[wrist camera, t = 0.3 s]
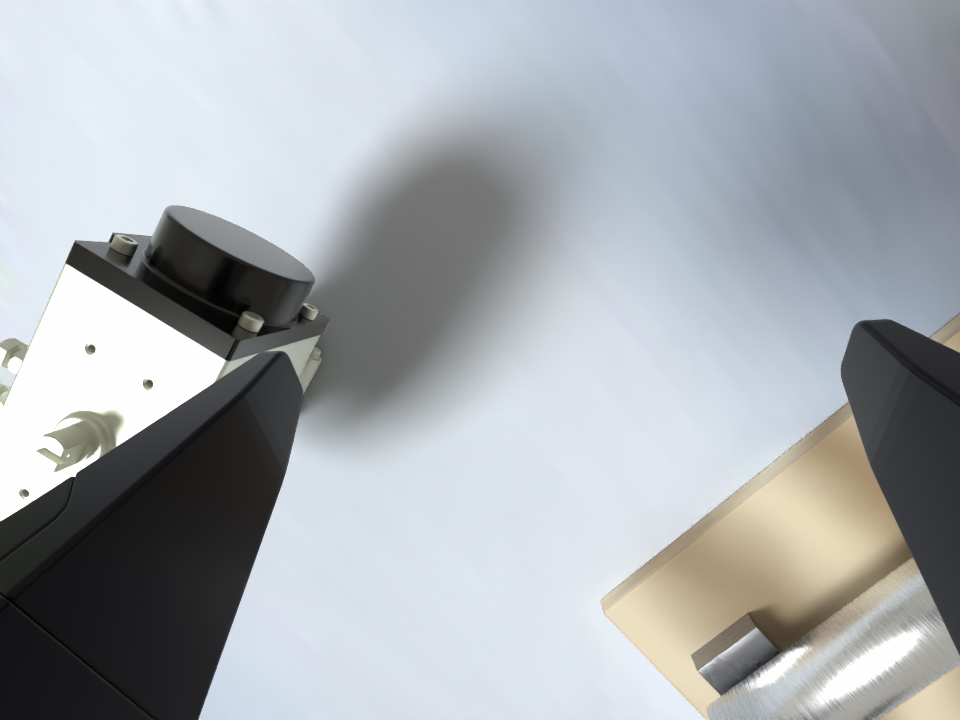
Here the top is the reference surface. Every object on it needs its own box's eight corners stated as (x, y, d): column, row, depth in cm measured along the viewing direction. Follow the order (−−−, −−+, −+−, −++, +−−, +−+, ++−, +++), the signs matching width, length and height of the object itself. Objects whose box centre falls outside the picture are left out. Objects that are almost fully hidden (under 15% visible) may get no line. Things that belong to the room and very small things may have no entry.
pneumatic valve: (384, 281, 24) (241, 290, 12) (262, 502, 26) (40, 690, 15) (273, 213, 24) (23, 158, 12) (159, 439, 26) (-146, 576, 15)
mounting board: (824, 832, 26) (836, 854, 25) (600, 600, 25) (603, 613, 24) (1290, 531, 22) (1324, 543, 21) (1040, 248, 22) (1064, 247, 21)
